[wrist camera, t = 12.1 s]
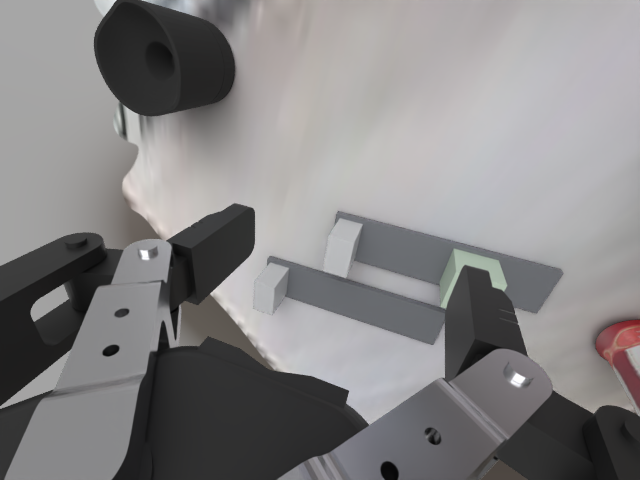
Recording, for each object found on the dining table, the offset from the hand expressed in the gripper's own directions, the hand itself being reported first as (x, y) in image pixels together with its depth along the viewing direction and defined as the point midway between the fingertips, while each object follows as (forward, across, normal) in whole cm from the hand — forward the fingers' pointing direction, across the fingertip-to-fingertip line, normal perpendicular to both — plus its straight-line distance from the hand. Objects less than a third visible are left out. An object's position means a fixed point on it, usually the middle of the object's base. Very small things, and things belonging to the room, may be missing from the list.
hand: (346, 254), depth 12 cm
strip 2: (+26, -6, +14) cm, 30 cm away
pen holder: (+26, +25, -4) cm, 36 cm away
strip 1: (+26, +3, +24) cm, 35 cm away
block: (+25, -11, +14) cm, 31 cm away
